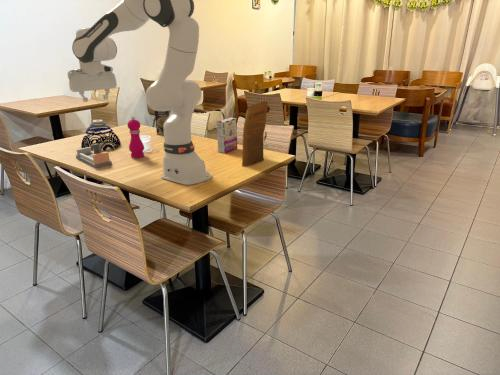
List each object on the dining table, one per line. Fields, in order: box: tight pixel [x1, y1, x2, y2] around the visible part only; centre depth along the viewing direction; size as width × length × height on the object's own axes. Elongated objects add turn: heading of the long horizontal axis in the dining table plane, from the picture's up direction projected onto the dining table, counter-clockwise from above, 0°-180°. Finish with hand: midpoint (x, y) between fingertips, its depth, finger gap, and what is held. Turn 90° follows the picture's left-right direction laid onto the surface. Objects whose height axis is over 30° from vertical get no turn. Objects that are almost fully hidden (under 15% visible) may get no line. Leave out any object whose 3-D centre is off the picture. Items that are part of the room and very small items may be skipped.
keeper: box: [92, 143, 102, 158], centre depth 177 cm, size 5×4×8 cm
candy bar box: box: [216, 117, 238, 154], centre depth 197 cm, size 11×5×16 cm, turn 146°
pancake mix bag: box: [241, 100, 268, 167], centre depth 175 cm, size 7×19×28 cm, turn 143°
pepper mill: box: [127, 116, 145, 159], centre depth 187 cm, size 7×7×20 cm
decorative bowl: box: [80, 119, 122, 152], centre depth 206 cm, size 20×20×14 cm
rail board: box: [75, 146, 113, 169], centre depth 182 cm, size 22×8×6 cm, turn 45°
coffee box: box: [154, 110, 171, 136], centre depth 233 cm, size 9×6×16 cm
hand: (96, 100), depth 171 cm, fingers open, 8 cm apart
